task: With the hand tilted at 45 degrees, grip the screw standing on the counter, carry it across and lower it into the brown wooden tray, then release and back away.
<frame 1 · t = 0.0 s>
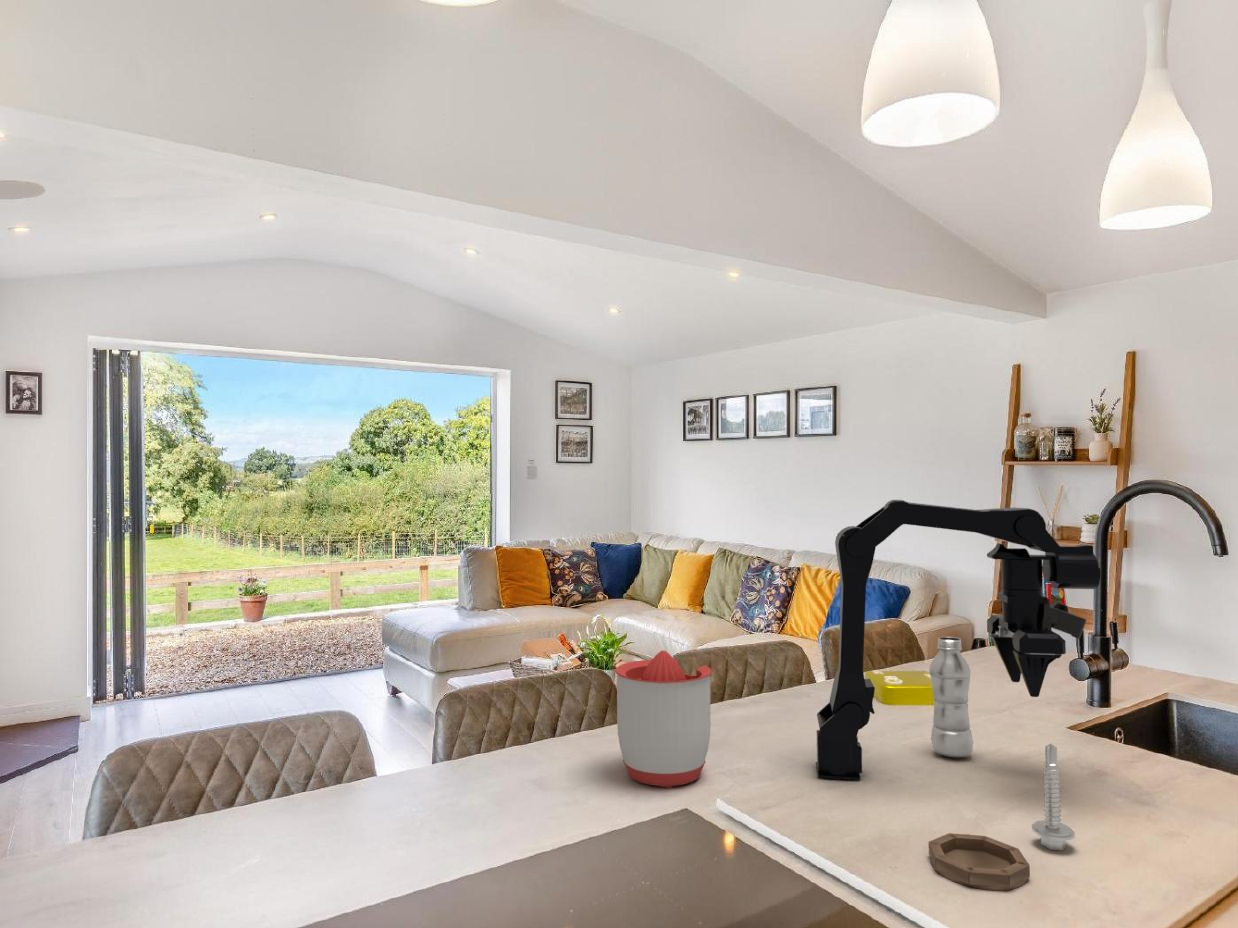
hand: (1024, 688, 122), 15 cm above the countertop, tool pointing down, fingers open, 9 cm apart
brown wooden tray: (977, 868, 95), on the countertop
plastic bottle: (952, 756, 135), on the countertop
screw: (1053, 847, 100), on the countertop
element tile: (906, 698, 174), on the countertop
citrus juicer: (667, 774, 127), on the countertop
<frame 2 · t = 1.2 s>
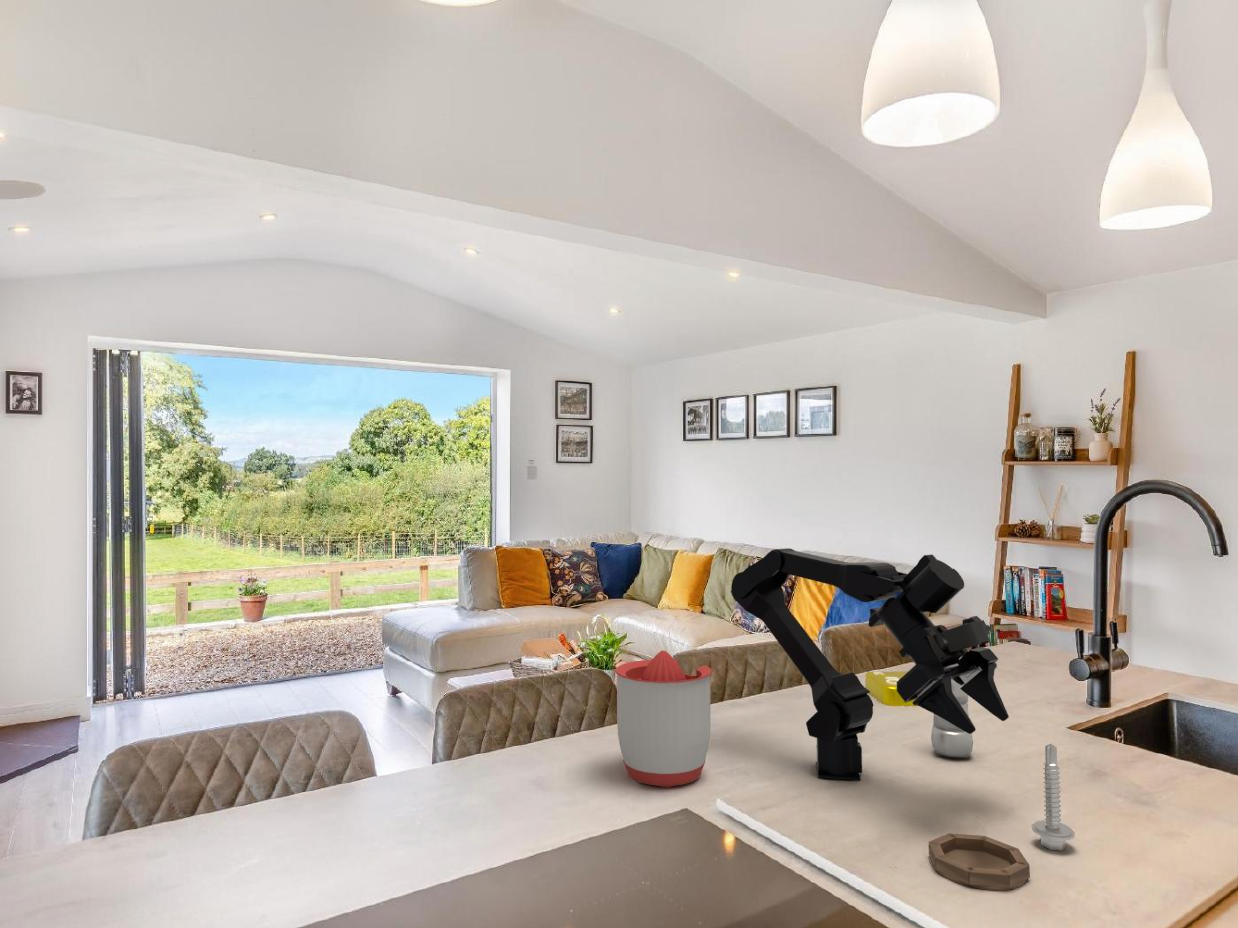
hand: (990, 725, 107), 13 cm above the countertop, tool tilted 45°, fingers open, 9 cm apart
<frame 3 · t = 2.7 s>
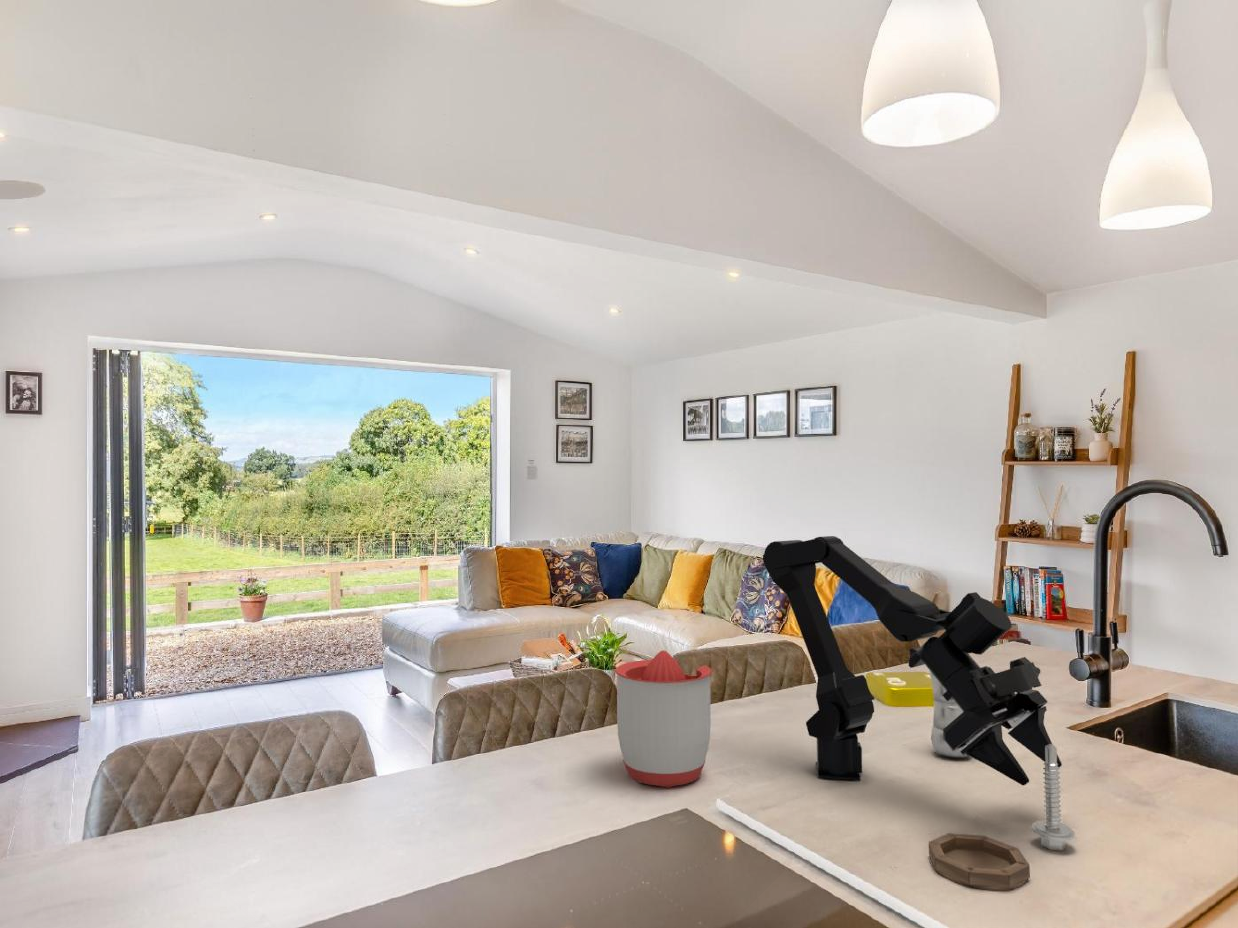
hand: (1043, 775, 102), 9 cm above the countertop, tool tilted 45°, fingers open, 9 cm apart
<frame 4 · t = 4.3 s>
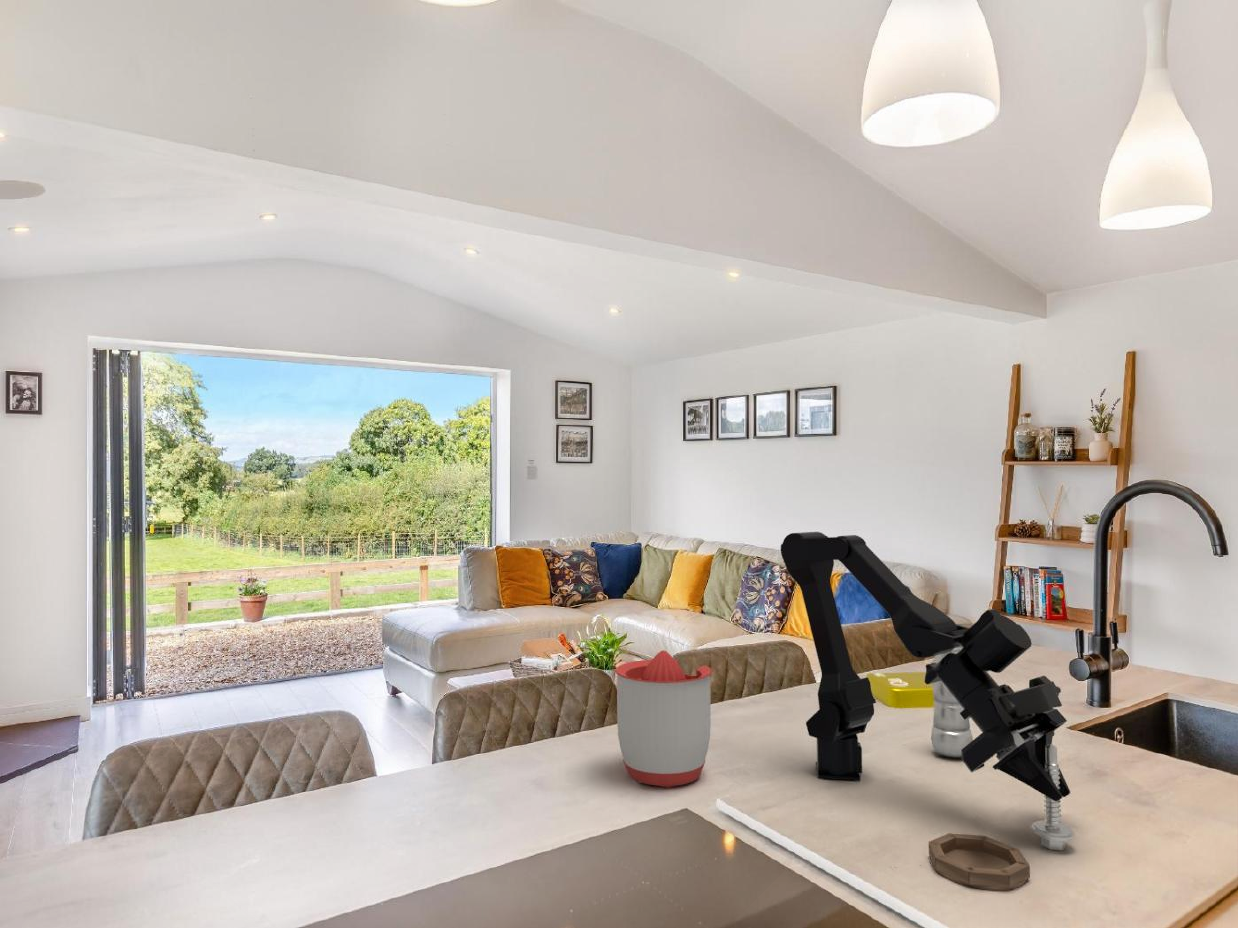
hand: (1063, 797, 100), 7 cm above the countertop, tool tilted 45°, fingers closed on screw, 2 cm apart
screw: (1053, 847, 100), on the countertop, touching gripper
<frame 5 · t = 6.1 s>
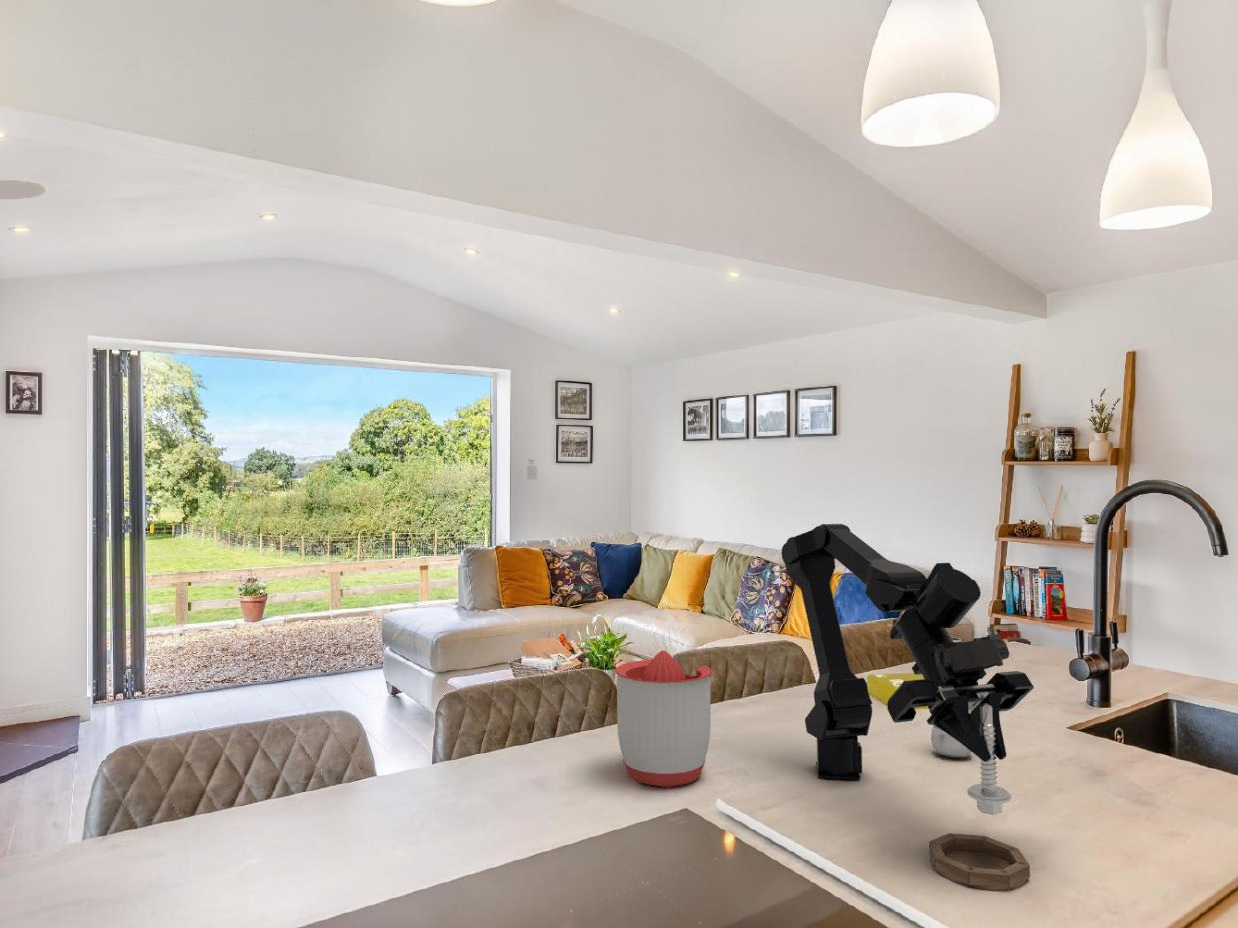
hand: (995, 759, 94), 13 cm above the countertop, tool tilted 45°, fingers closed on screw
screw: (989, 811, 96), point 6 cm above the countertop, touching gripper
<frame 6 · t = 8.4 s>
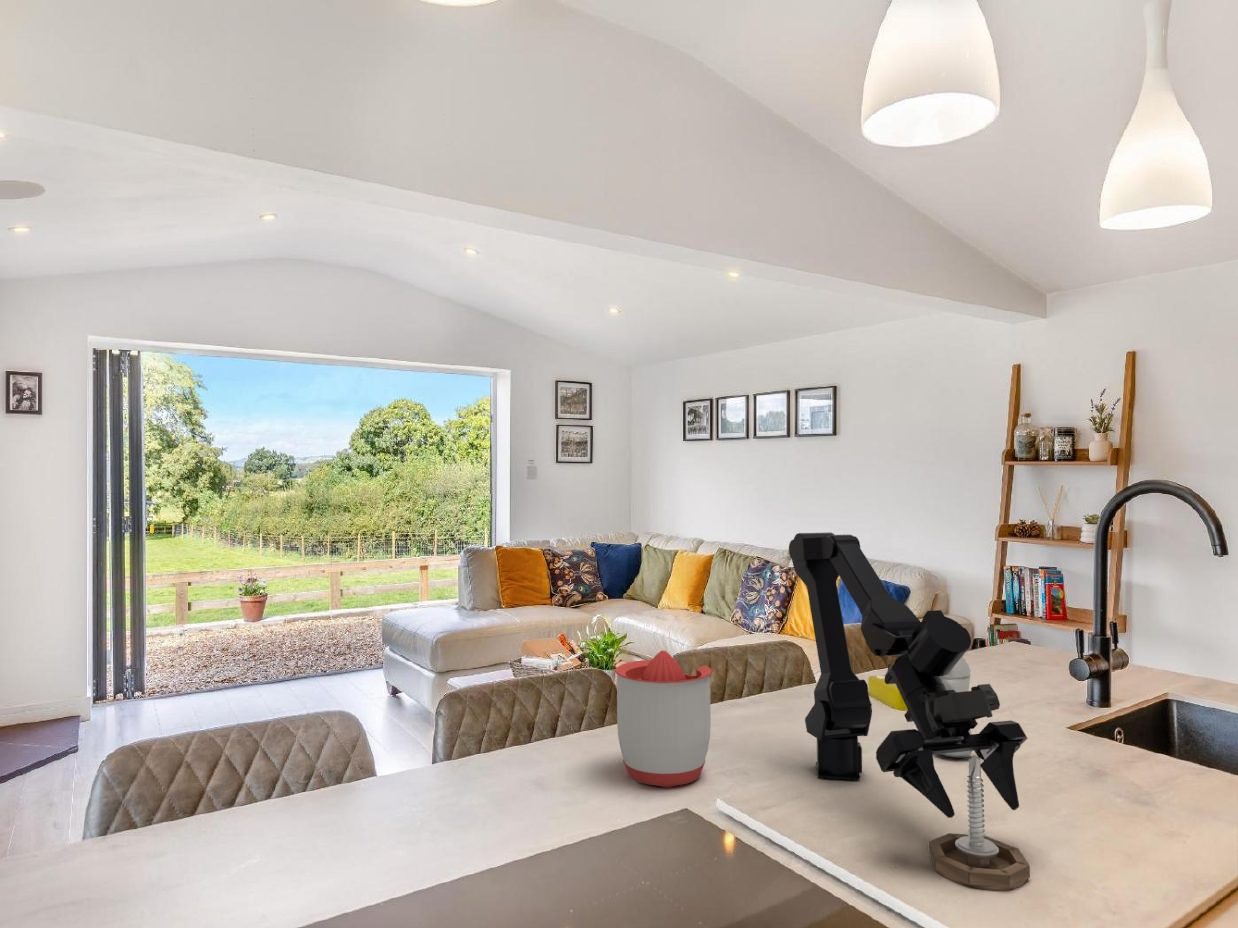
hand: (984, 812, 94), 7 cm above the countertop, tool tilted 45°, fingers open, 9 cm apart
screw: (977, 865, 95), on the countertop, touching brown wooden tray
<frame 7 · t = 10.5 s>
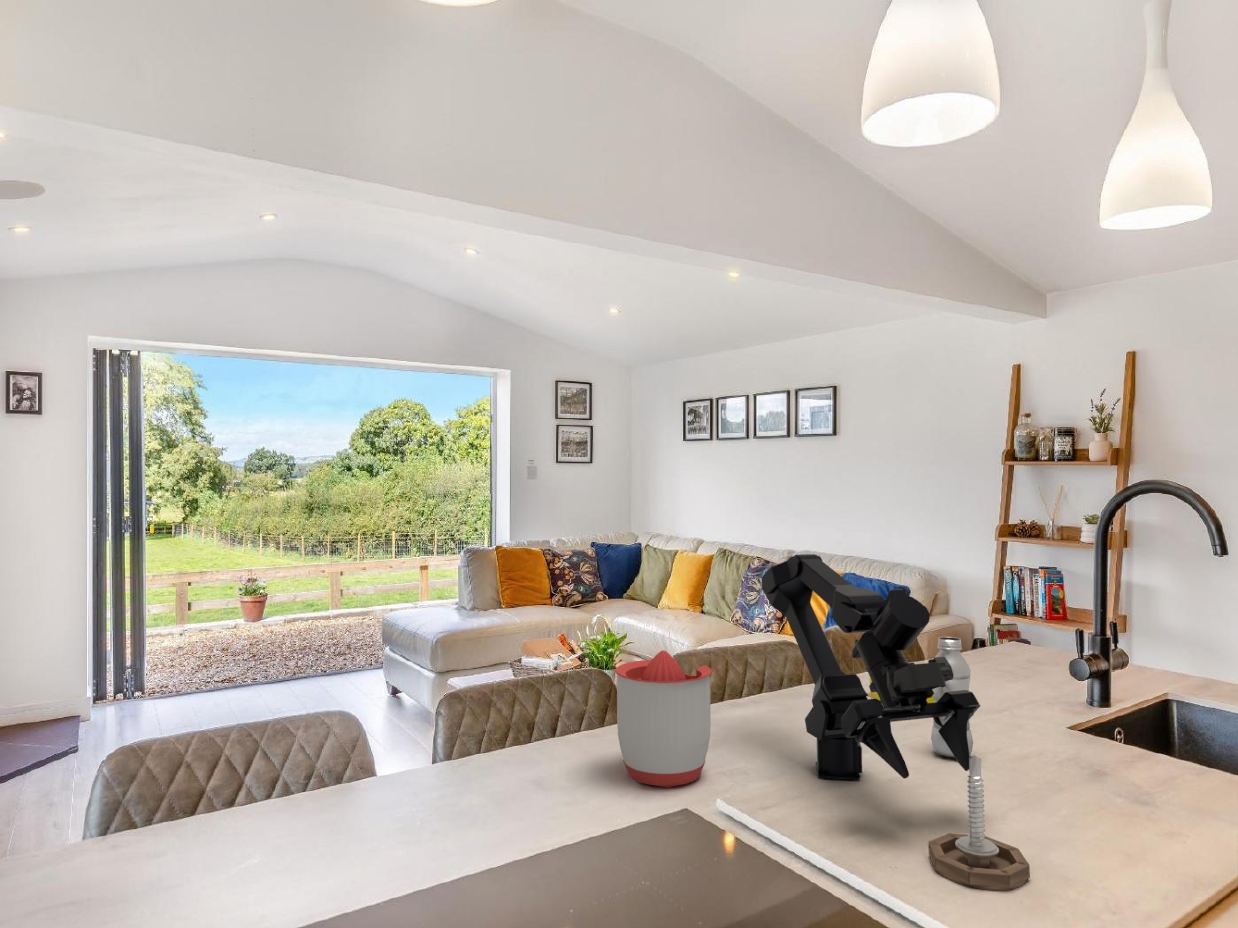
hand: (937, 773, 103), 9 cm above the countertop, tool tilted 45°, fingers open, 9 cm apart
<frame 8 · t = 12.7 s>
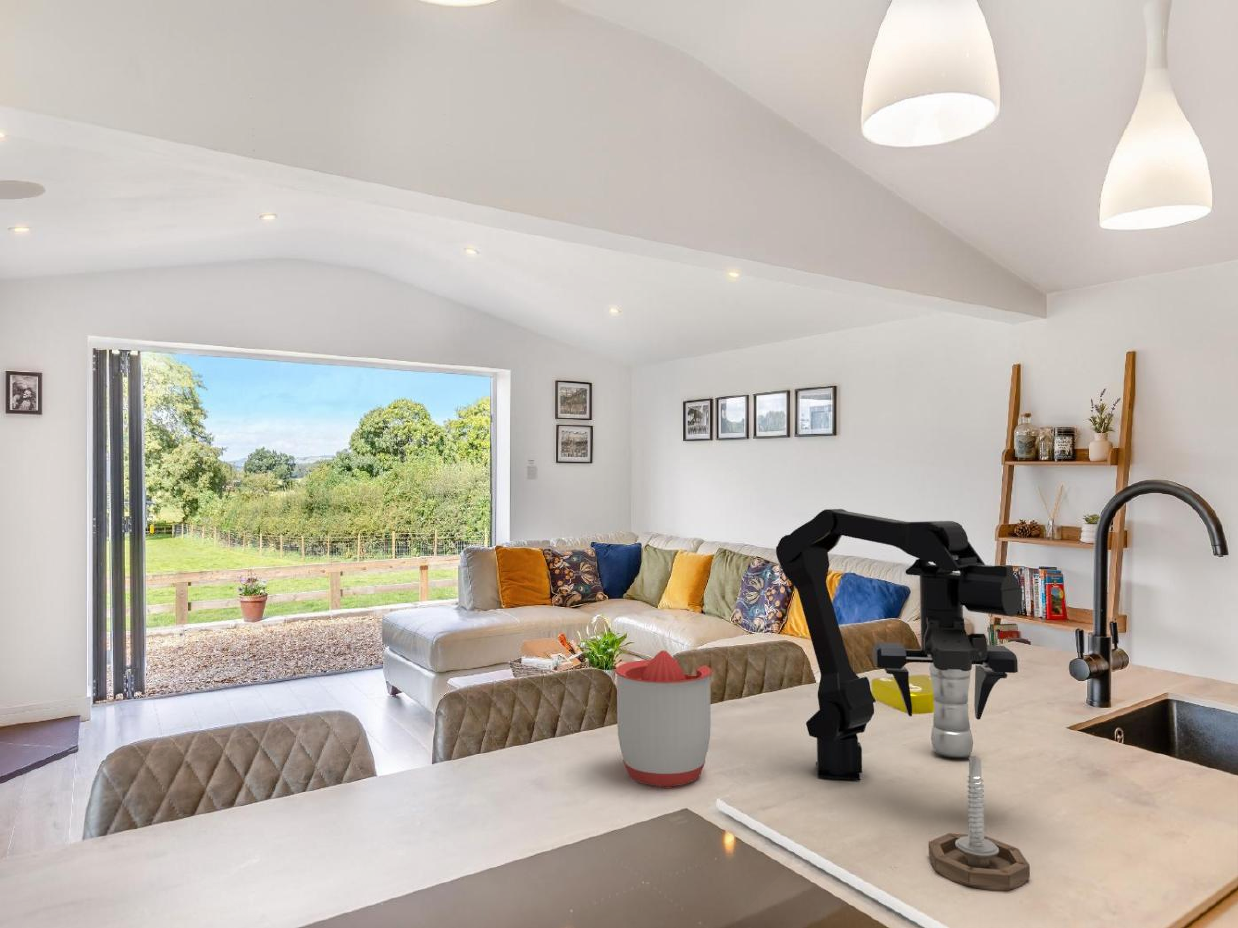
hand: (943, 717, 113), 13 cm above the countertop, tool pointing down, fingers open, 9 cm apart
at the end: screw 0.2 cm from the brown wooden tray (horizontally); screw on the countertop; screw tilted 0° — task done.
